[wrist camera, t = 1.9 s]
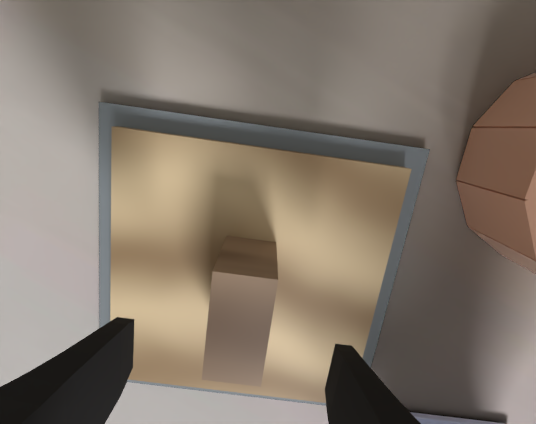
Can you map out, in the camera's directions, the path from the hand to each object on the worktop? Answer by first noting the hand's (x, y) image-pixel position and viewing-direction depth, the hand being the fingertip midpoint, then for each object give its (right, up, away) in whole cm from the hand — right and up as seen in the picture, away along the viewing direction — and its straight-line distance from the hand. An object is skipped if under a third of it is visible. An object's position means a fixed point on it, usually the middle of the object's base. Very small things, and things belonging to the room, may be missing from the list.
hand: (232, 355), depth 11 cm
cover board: (0, +2, +6) cm, 6 cm away
